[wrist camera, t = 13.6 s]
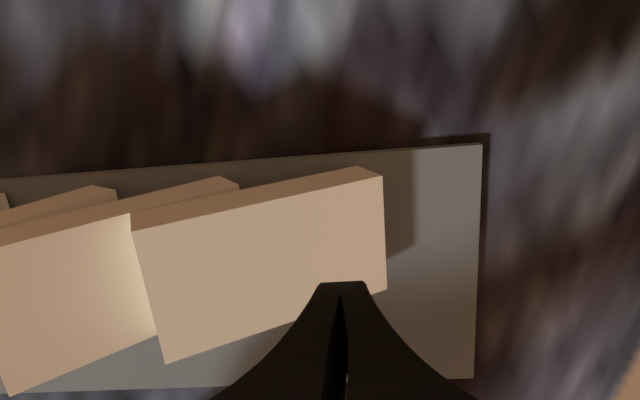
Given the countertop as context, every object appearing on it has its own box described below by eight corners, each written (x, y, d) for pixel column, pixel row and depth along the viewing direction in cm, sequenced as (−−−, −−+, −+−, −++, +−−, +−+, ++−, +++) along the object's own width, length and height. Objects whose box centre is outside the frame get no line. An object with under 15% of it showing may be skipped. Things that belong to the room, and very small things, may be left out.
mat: (470, 371, 22) (473, 378, 21) (-113, 390, 24) (-122, 397, 24) (478, 142, 18) (482, 144, 17) (-219, 194, 20) (-232, 198, 20)
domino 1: (115, 190, 18) (-215, 293, 11) (142, 293, 19) (-130, 439, 12) (91, 185, 19) (-220, 275, 12) (119, 282, 20) (-142, 411, 14)
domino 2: (238, 184, 17) (-49, 259, 12) (256, 293, 18) (9, 397, 14) (219, 175, 18) (-42, 239, 14) (236, 276, 20) (9, 364, 15)
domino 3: (382, 175, 16) (130, 232, 13) (386, 289, 18) (165, 364, 14) (356, 165, 18) (129, 212, 15) (363, 269, 19) (160, 333, 16)
